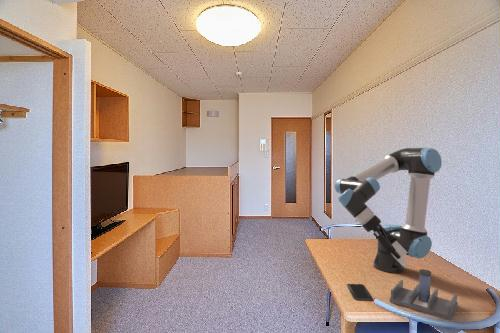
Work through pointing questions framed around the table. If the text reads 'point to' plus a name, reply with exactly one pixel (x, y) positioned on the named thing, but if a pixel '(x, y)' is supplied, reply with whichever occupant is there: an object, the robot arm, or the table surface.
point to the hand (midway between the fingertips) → (405, 259)
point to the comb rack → (433, 305)
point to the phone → (359, 292)
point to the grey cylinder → (424, 285)
